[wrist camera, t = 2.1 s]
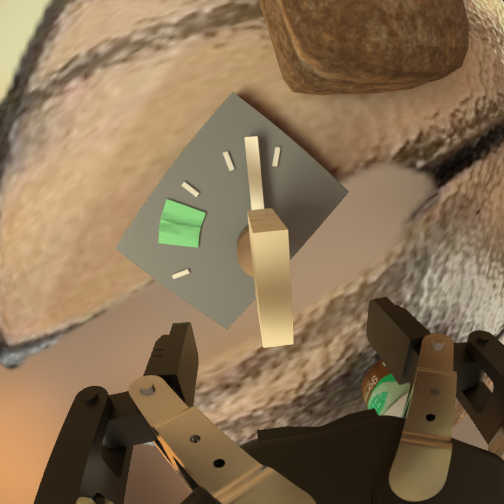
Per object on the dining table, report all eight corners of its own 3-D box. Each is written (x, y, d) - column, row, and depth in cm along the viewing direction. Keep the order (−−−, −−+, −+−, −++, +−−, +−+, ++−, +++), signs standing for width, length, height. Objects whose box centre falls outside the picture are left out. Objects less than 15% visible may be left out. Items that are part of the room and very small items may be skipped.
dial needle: (286, 280, 26) (311, 341, 17) (241, 285, 26) (245, 349, 17) (275, 135, 23) (301, 119, 13) (225, 140, 23) (219, 125, 13)
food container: (356, 350, 32) (390, 409, 22) (401, 339, 32) (442, 390, 22) (348, 416, 35) (369, 470, 26) (387, 405, 36) (413, 454, 26)
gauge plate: (343, 189, 26) (349, 192, 24) (227, 321, 29) (226, 330, 28) (232, 96, 23) (232, 91, 21) (120, 243, 26) (114, 249, 25)
